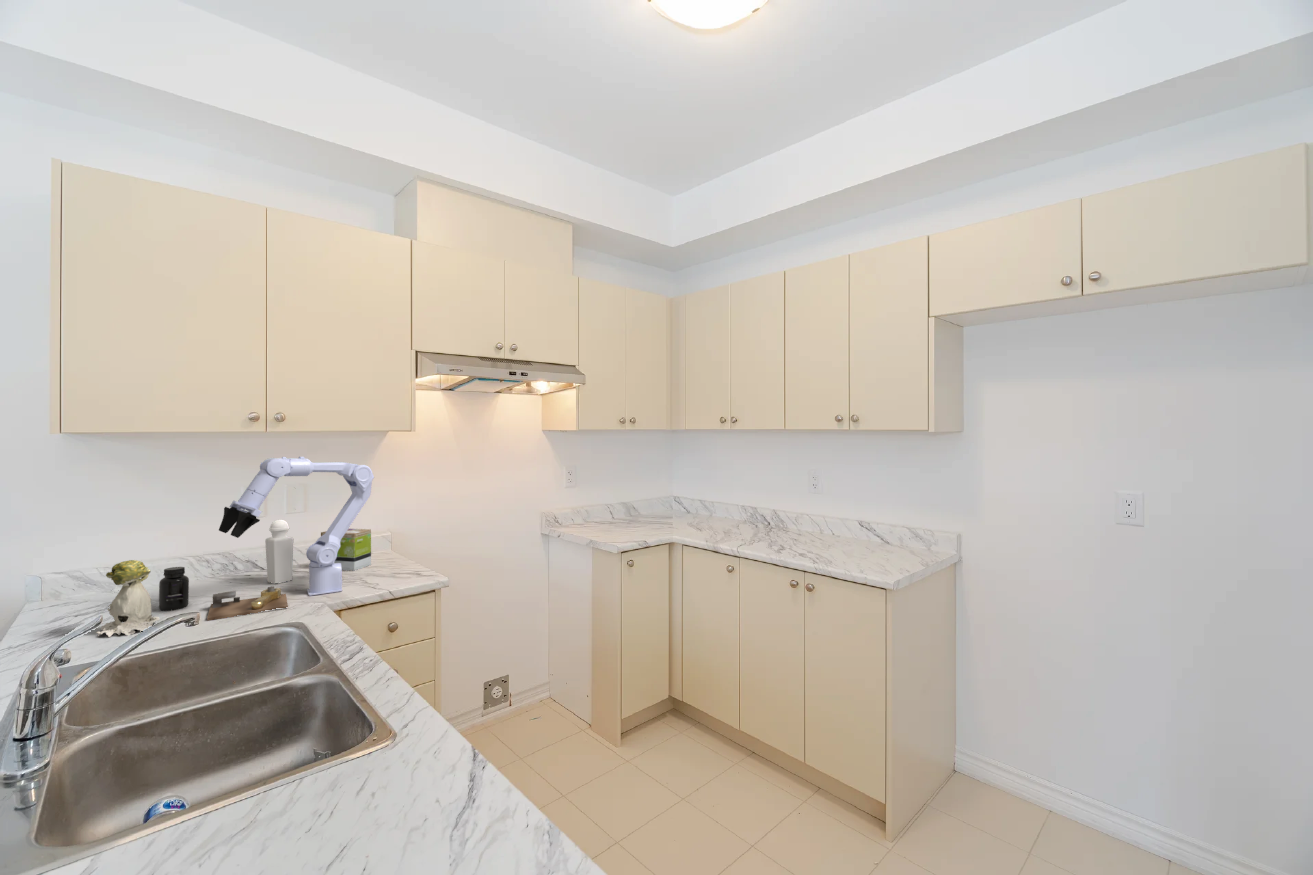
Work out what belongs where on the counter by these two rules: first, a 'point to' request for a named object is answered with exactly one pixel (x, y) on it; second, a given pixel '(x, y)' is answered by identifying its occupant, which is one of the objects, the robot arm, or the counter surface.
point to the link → (266, 598)
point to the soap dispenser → (279, 553)
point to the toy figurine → (129, 599)
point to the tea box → (354, 549)
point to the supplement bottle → (173, 589)
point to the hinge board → (240, 605)
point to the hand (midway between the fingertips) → (228, 534)
